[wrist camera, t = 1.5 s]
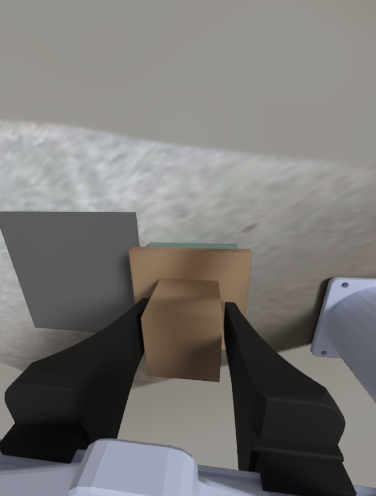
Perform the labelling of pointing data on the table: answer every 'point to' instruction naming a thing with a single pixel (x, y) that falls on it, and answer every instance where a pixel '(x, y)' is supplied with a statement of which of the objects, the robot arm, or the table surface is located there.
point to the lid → (187, 306)
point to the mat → (73, 265)
